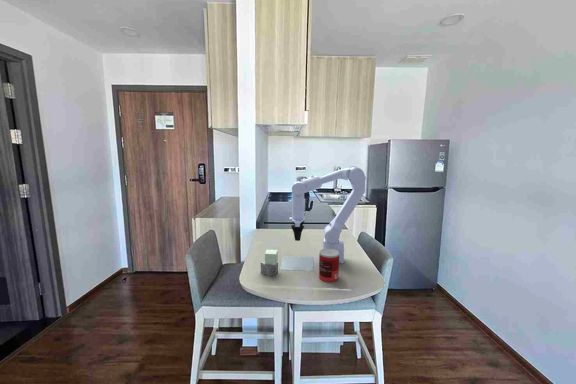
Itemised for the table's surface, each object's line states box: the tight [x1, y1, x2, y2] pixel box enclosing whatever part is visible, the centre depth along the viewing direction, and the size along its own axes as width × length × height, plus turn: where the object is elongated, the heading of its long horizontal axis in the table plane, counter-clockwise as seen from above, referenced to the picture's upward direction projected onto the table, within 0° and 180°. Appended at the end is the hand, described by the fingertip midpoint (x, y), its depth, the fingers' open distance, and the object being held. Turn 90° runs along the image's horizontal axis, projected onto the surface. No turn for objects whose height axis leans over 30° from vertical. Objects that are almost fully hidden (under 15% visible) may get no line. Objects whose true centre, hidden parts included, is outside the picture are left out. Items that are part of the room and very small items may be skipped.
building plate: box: [279, 255, 314, 272], centre depth 119 cm, size 14×14×1 cm
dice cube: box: [260, 260, 279, 277], centre depth 110 cm, size 5×5×5 cm
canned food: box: [318, 248, 340, 283], centre depth 106 cm, size 8×8×11 cm
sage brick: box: [264, 249, 279, 265], centre depth 109 cm, size 4×4×4 cm
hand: (297, 237), depth 124 cm, fingers open, 7 cm apart
